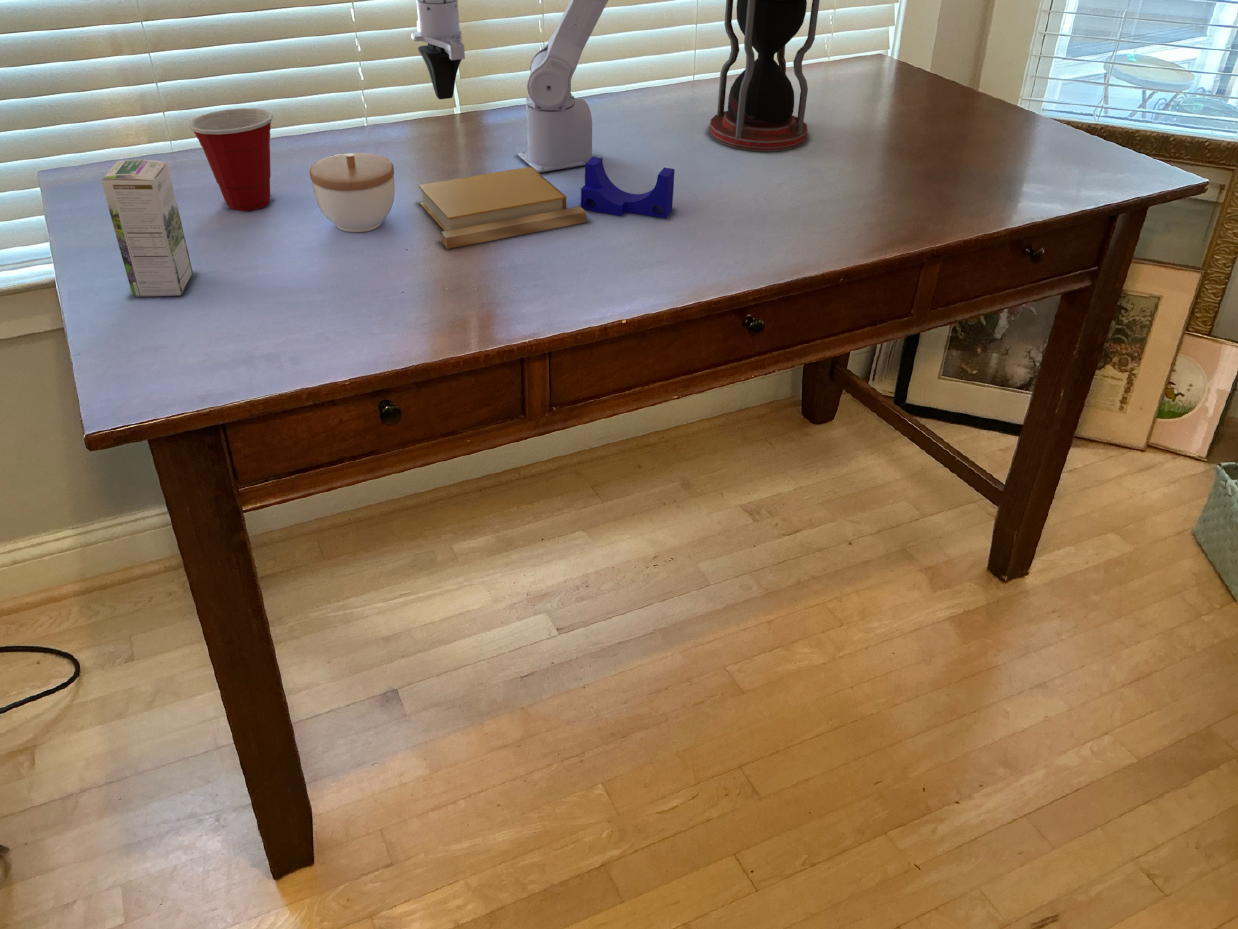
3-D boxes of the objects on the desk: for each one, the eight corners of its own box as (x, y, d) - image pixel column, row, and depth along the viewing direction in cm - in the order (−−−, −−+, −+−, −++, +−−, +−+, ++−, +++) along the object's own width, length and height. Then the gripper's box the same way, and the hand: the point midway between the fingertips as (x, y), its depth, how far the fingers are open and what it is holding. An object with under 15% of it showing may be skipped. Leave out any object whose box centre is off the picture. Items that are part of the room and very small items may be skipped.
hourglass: (822, 130, 172) (846, -32, 156) (780, 159, 161) (801, -13, 145) (736, 111, 178) (751, -47, 163) (691, 138, 167) (702, -29, 152)
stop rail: (580, 216, 142) (580, 205, 141) (586, 222, 140) (586, 211, 139) (442, 242, 134) (441, 231, 133) (447, 249, 133) (446, 237, 132)
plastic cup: (263, 181, 149) (247, 97, 142) (303, 203, 143) (288, 117, 136) (192, 200, 143) (172, 114, 136) (230, 225, 137) (211, 136, 129)
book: (531, 184, 150) (531, 166, 149) (566, 215, 142) (566, 196, 140) (420, 204, 144) (418, 184, 142) (449, 237, 135) (448, 217, 134)
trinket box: (381, 243, 133) (372, 174, 128) (304, 234, 135) (292, 165, 129) (411, 211, 142) (404, 144, 136) (338, 203, 143) (328, 136, 138)
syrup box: (146, 275, 125) (113, 159, 116) (195, 274, 125) (167, 158, 117) (132, 297, 120) (97, 178, 112) (184, 296, 121) (153, 178, 112)
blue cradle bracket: (580, 209, 144) (581, 167, 140) (592, 197, 147) (592, 156, 144) (662, 222, 141) (664, 180, 137) (672, 210, 144) (674, 168, 141)
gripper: (393, -11, 147) (403, 86, 155) (426, 14, 137) (435, 115, 145) (440, -15, 150) (447, 80, 158) (476, 9, 140) (481, 109, 148)
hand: (444, 97), depth 152 cm, fingers closed
